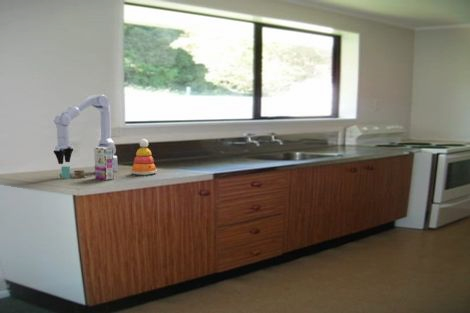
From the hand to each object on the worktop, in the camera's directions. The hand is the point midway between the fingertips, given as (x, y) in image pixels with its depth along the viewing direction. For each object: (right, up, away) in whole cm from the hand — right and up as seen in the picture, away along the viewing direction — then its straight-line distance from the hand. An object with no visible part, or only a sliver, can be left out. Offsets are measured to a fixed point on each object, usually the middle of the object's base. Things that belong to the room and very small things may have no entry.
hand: (64, 163), depth 257 cm
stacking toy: (+40, -7, +12) cm, 42 cm away
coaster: (-1, -7, +11) cm, 13 cm away
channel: (+7, -8, +3) cm, 11 cm away
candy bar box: (+22, -9, -4) cm, 24 cm away
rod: (+5, -8, +3) cm, 10 cm away
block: (+1, -8, +1) cm, 8 cm away
